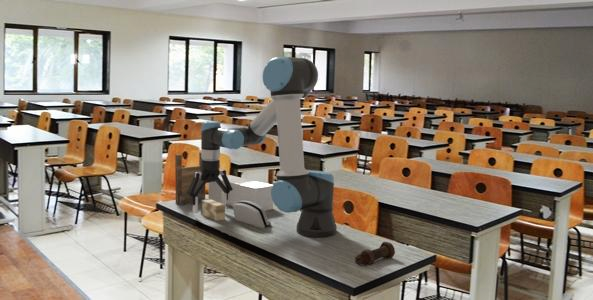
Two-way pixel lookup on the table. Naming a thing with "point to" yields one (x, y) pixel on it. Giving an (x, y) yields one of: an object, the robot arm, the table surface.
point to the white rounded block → (250, 214)
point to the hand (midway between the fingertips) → (209, 210)
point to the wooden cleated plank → (186, 180)
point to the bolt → (375, 254)
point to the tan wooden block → (213, 209)
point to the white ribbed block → (243, 192)
